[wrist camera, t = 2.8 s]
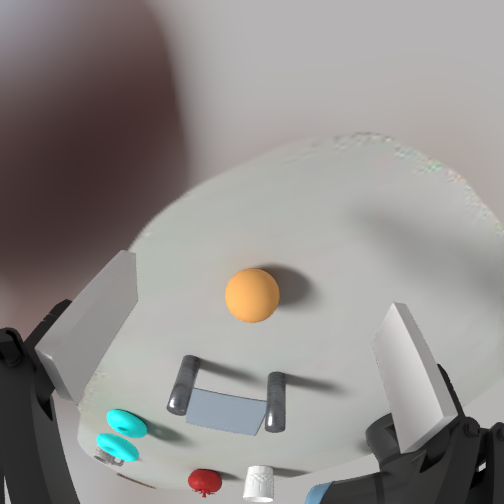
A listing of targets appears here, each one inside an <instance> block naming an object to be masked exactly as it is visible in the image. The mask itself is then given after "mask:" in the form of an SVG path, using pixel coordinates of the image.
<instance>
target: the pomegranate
mask: <svg viewBox="0 0 504 504" xmlns="http://www.w3.org/2000/svg"><path fill="white" fill-rule="evenodd" d="M188 483H189V485H190V487H192V488H193V489H195V490H196V491H195V492H197V490H198V491H201V493H203V496H202V497H206V493H207V494H209V495H210V494H214V493H210V492H217V491H218V490H219V489H220V488H221V486H222V479H221V477H220V475H219V474H218V473H216V472H214V471H210V470H195V471H193V472H192V473H191V475H190V476H189V478H188Z"/></svg>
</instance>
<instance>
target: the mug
mask: <svg viewBox="0 0 504 504" xmlns="http://www.w3.org/2000/svg"><path fill="white" fill-rule="evenodd" d="M93 456H94V457H95V458H96V459H98V460H99V461H101V462H103V463H105V464H108V465H112V464H114V465H117V466H122V465H123V463H124V460H121V462H120V463H117V462H115V461H114V459H115V456H113V455H111V454H109V453H107V452H106V451H104V450H103V449H102V448H100V446H99V445H97V448H96V450H95V452H94V455H93Z"/></svg>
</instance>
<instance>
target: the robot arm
mask: <svg viewBox="0 0 504 504" xmlns="http://www.w3.org/2000/svg"><path fill="white" fill-rule="evenodd" d="M137 302H138V293H137V276H136V253H132V252H128V251H123V250H121V251H120V252H119V253H118V254H117V255H116V256H115V257H114V258H113V259H112V260H111V261H110V262H109V263H108V264H107V265H106V266H105V267H104V268H103V269H102V270H101V271H100V272H99V273H98V275H97V276H96V277H95V278H94V279H93V280H92V281H91V282H90V283H89V284H88V285H87V286H86V287H85V288H84V290H83V291H82V292H81V293H80V294H79V295H78V296H77V297H76V298H75V300H74V301H70V300H67V299H66V300H64V301H62V302H60V303H58V304H57V305H56V306H55V307H54V308H53V309H52V310H51V311H50V312H49V314H48V315H47V316H46V317H45V318H44V319H43V321H41V322H40V324H39V325H38V326H37V327H36V328H35V329H34V331H33V332H32V333H31V334H30V335H29V337H28V338H27V339H26V340H25V341H24V342H23V340H22V338H21V336H20V334H19V333H18V331H17V330H15V329H13V328H3V329H0V504H5V494H4V475H5V480H6V485H7V489H8V493H9V497H10V501H11V504H80V502H79V500H78V497H77V494H76V491H75V488H74V485H73V482H72V480H71V476H70V473H69V469H68V466H67V463H66V459H65V455H64V452H63V447H62V443H61V439H60V434H59V429H58V424H57V419H56V413H55V408H54V401H53V397H52V395H51V394H52V392H53V391H54V389H56V391H57V393H58V394H59V396H60V397H61V398H63V399H65V400H67V401H69V402H71V403H73V404H75V405H76V404H77V402H78V400H79V398H80V397H81V395H82V393H83V391H84V389H85V387H86V386H87V384H88V382H89V380H90V379H91V377H92V375H93V373H94V372H95V370H96V368H97V366H98V365H99V363H100V361H101V360H102V358H103V356H104V355H105V353H106V351H107V350H108V348H109V346H110V345H111V343H112V341H113V340H114V338H115V336H116V335H117V333H118V332H119V330H120V328H121V327H122V325H123V324H124V322H125V320H126V319H127V317H128V316H129V314H130V313H131V311H132V310H133V308H134V306H135V305H136V303H137ZM371 345H372V348H373V351H374V354H375V357H376V361H377V364H378V367H379V370H380V374H381V377H382V380H383V384H384V387H385V391H386V395H387V398H388V402H389V406H390V409H391V413H390V414H388V415H386V416H384V417H382V418H380V419H379V420H377V421H376V422H374V423H373V424H372V425H371V426H370V427H369V428H368V429H367V431H366V440H367V444H368V445H369V446H370V448H371V450H372V452H373V454H374V455H375V457H376V459H377V460H378V462H379V468H380V472H377V473H373V474H369V475H365V476H361V477H356V478H351V479H346V480H340V481H332V482H329V483H325V484H319V485H316V486H314V487H313V488H312V489H311V490H310V491H309V493H308V495H307V497H306V501H305V504H504V423H502V422H498V423H496V424H495V425H494V426H492V427H491V428H490V429H486V428H480V425H479V424H478V422H477V421H476V420H475V419H473V418H471V417H466V416H465V414H464V412H463V409H462V407H461V404H460V402H459V400H458V397H457V395H456V393H455V390H453V389H454V388H453V386H452V383H450V379H449V377H448V375H447V373H446V371H445V370H444V369H443V368H442V367H441V365H440V364H436V362H435V360H434V358H433V356H432V353H431V351H430V349H429V347H428V345H427V343H426V341H425V339H424V337H423V335H422V333H421V332H420V330H419V328H418V326H417V324H416V322H415V320H414V318H413V316H412V315H411V313H410V311H409V309H408V307H407V306H406V304H403V303H396V302H393V303H392V305H391V307H390V309H389V311H388V313H387V315H386V317H385V319H384V321H383V322H382V324H381V326H380V328H379V330H378V332H377V333H376V335H375V337H374V339H373V340H372V342H371ZM485 462H486V468H484V469H483V470H482V471H480V472H479V466H481V465H482V464H483V463H485Z"/></svg>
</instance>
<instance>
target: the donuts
mask: <svg viewBox="0 0 504 504" xmlns="http://www.w3.org/2000/svg"><path fill="white" fill-rule="evenodd" d="M107 420H108V423H109V424H110V425H111V427H112V428H114V429H115V430H116V431H118V432H119V433H121V434H123V435H125V436H128V437H132V438H141V437H144V436H145V435H146V434H147V427H146V425H145V424H144V422H143V421H141V420H140V419H139V418H137V417H136V416H134V415H132V414H130V413H128V412H125V411H122V410H111V411H109V412H108V414H107ZM97 444H98V445H99V446H100V448H102V449H103V450H104V451H106V452H107V453H109V454H111V455H113V456H115V457H117V458H119V459H122V460H126V461H135V460H137V459H138V457H139V452H138V450H137V449H136V447H135V446H134V445H132V444H131V443H130V442H128V441H127V440H125V439H123V438H121V437H119V436H116V435H113V434H109V433H102V434H100V435H98V436H97Z"/></svg>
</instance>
